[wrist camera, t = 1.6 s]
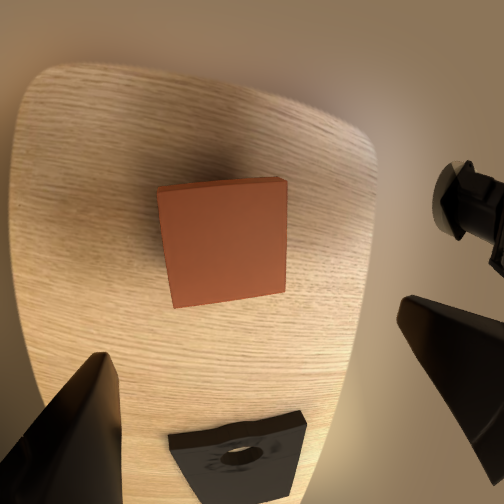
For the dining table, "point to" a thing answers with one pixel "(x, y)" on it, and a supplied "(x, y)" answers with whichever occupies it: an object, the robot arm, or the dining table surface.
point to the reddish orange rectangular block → (224, 239)
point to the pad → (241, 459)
